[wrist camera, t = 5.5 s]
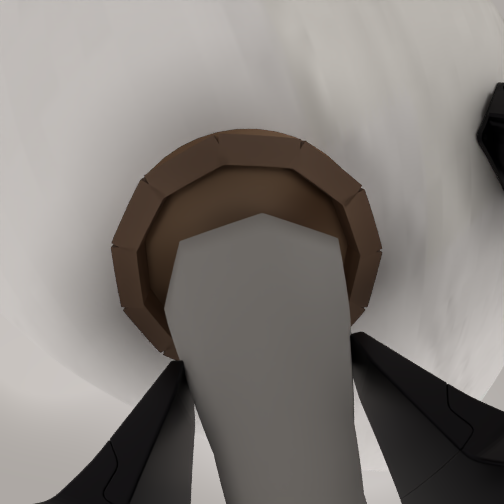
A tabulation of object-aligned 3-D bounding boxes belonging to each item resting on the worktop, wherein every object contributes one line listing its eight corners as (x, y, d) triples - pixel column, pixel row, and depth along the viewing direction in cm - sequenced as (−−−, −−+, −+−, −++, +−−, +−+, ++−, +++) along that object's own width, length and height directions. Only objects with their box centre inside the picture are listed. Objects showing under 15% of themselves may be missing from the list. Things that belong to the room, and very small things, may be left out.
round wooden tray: (404, 225, 14) (425, 238, 12) (275, 377, 18) (280, 400, 16) (205, 78, 10) (201, 67, 8) (94, 295, 14) (80, 316, 12)
